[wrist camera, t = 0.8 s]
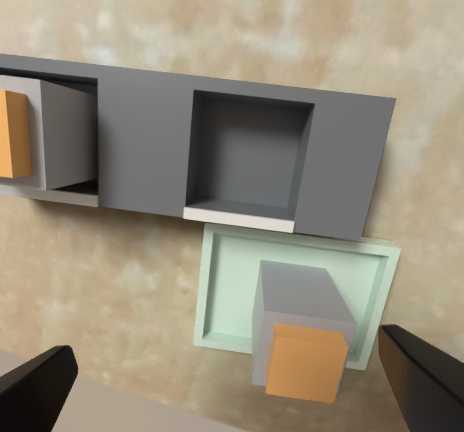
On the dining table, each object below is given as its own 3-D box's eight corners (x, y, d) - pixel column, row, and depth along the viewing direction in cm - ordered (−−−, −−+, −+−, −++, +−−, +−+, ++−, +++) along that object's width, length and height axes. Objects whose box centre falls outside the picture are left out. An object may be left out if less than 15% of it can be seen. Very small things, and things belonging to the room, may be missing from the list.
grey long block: (363, 108, 17) (398, 97, 13) (338, 220, 19) (361, 242, 15) (7, 67, 18) (-65, 45, 14) (17, 178, 20) (-45, 188, 16)
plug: (325, 268, 19) (365, 337, 12) (313, 324, 20) (343, 415, 14) (260, 259, 19) (265, 323, 13) (251, 315, 20) (251, 401, 14)
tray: (389, 240, 19) (401, 248, 17) (357, 355, 21) (365, 370, 20) (208, 216, 19) (204, 222, 18) (197, 331, 22) (193, 345, 20)
